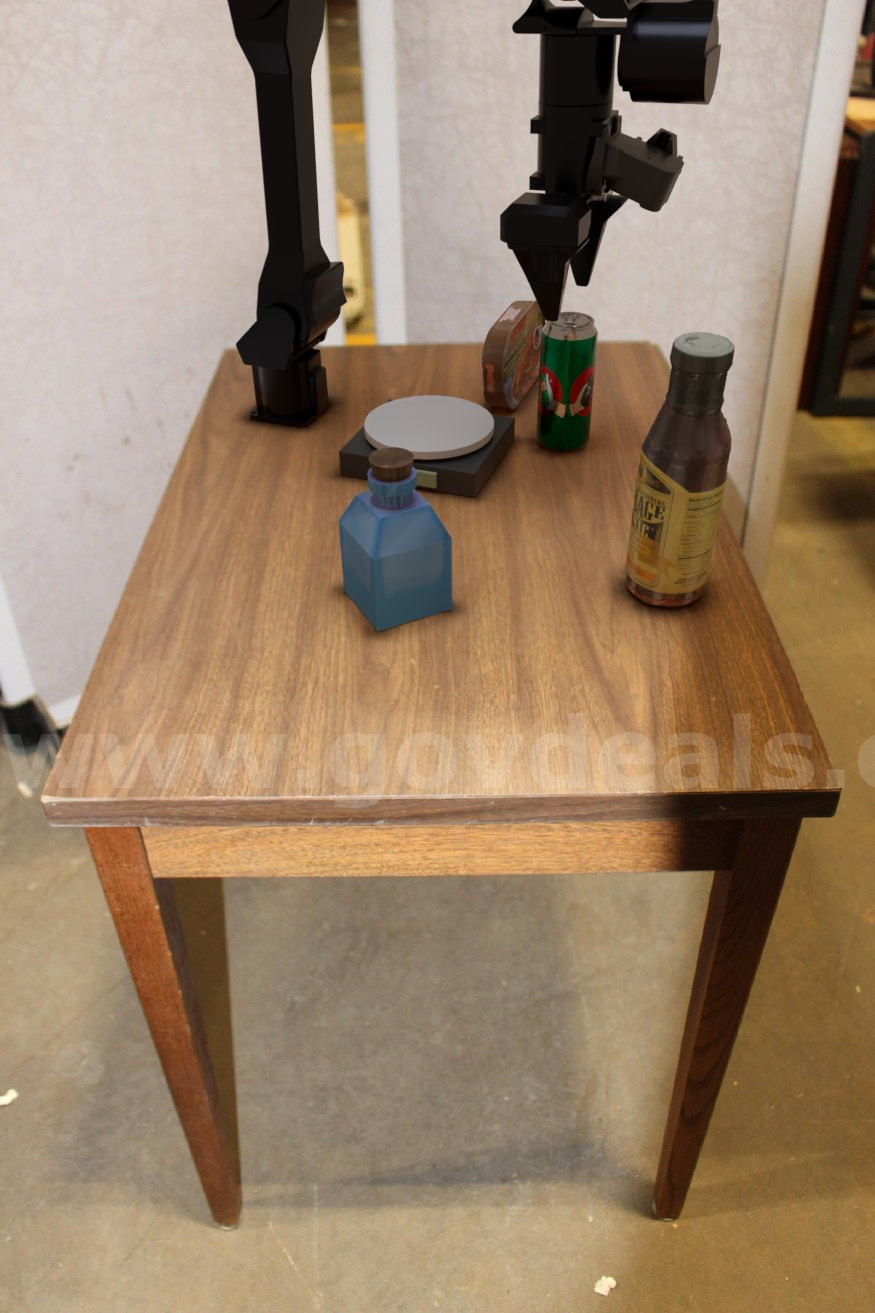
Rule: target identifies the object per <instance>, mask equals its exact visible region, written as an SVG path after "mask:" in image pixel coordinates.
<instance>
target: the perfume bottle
mask: <svg viewBox="0 0 875 1313" xmlns="http://www.w3.org/2000/svg"><path fill="white" fill-rule="evenodd" d="M413 460H414V455H413V453H412V452H410V451H409V450H407V449H403V448H398V447H387V448H381V449H378V450H376V451H374V452H372V453H371V454H370V456H369V462H370V465H371V468H370V470H369V471H368V479H367V488H368V489H369V490H366V491H363V492H359V493H356V494H355V496H354V497H353V498H352V500H351V501H350V503H349V504H348V506H347V507H346V508H345V510H344V512H343V514H341V517H340V518H339V519H338V531H339V544H340V558H341V569H342V570H341V571H342V582H343V591H344V592H345V593H346V595H347V596H348V597H349V599H350V600H351V601H352V602H353V604H354V605H355V606H356V607H357V609H358V610H359V611H360V612H361V613H362V615H363V616H364V617H365V618H366V620H367V621H368V622H369V623H370V625H371V626H372V627H373V628H374V629H375V631H376V632H377V633H378V632H382V631H385V630H388V629H392V628H394V627H399V626H401V625H404V624H407V623H411V622H414V621H417V620H420V619H424V618H427V617H431V616H433V615H434V616H435V615H437V614H440V613H443V612H446V611H450V610H453V542H452V541H453V538H452V536H451V535H450V533H449V532H448V530H447V528H446V527H445V525H444V523H443V522H442V521H441V519H440V518H439V516H438V514H437V513H436V511H435V510H434V508H433V506H432V505H431V504H430V503H429V502H428V501H427V500H426V499H425V498H424V496H422V495H421V494H420V493H419V492H418V491H417V490H415V489H417V488H416V486H417V480H416V470H415V468H414V467H412V465H413Z"/></svg>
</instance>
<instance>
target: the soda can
mask: <svg viewBox="0 0 875 1313" xmlns="http://www.w3.org/2000/svg"><path fill="white" fill-rule="evenodd" d="M545 322H546V324H545V326H544V327H543V328H542V330H541V347H540V368H539V376H538V393H537V396H538V397H537V410H536V411H537V412H536V431H535V432H536V435H535V436H536V440H537V442H538V443H539V444H540V445H541V446H542V447H543V448H545V449H546V450H548V451H552V452H556V453H570V452H576V451H579V450H581V449H582V448H584V446H585V445H586V444H588V442H589V441H590V436H591V435H590V434H591V421H592V411H593V410H592V409H593V396H594V384H595V373H596V361H597V360H596V359H597V347H598V346H597V345H598V336H599V335H598V334H599V332H598V329H597V327H596V326H595V318H594V317H592V316H591V315H589V314H586V313H583V312H579V311H578V312H577V311H560V316H559V319H558V320H557V321H555V322H554V321H547V320H545Z"/></svg>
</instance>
